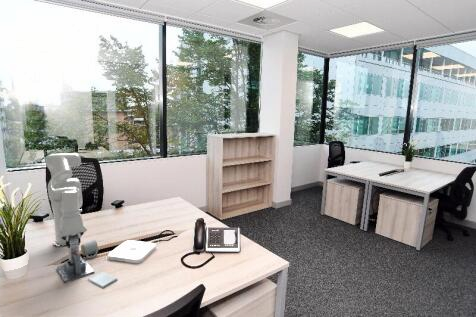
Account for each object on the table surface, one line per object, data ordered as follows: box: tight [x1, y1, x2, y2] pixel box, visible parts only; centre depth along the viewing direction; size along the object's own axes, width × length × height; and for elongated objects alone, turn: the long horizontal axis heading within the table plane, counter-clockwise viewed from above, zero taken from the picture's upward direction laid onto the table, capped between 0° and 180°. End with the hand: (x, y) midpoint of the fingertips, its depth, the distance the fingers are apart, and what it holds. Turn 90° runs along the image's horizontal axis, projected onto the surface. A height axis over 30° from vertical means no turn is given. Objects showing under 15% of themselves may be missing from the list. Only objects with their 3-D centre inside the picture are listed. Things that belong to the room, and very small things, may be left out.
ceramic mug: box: [80, 239, 99, 259], centre depth 168 cm, size 11×8×8 cm
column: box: [68, 234, 80, 264], centre depth 150 cm, size 6×4×15 cm, turn 44°
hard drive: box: [87, 271, 118, 289], centre depth 144 cm, size 2×8×12 cm
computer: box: [107, 239, 157, 264], centre depth 173 cm, size 22×22×3 cm
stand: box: [56, 252, 95, 284], centre depth 151 cm, size 18×14×12 cm
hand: (73, 245), depth 149 cm, fingers closed on column, 4 cm apart
